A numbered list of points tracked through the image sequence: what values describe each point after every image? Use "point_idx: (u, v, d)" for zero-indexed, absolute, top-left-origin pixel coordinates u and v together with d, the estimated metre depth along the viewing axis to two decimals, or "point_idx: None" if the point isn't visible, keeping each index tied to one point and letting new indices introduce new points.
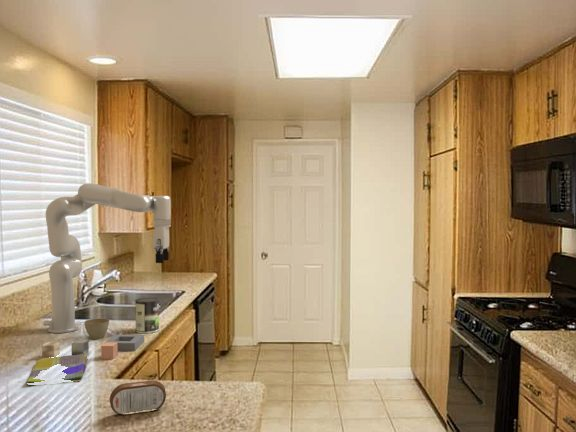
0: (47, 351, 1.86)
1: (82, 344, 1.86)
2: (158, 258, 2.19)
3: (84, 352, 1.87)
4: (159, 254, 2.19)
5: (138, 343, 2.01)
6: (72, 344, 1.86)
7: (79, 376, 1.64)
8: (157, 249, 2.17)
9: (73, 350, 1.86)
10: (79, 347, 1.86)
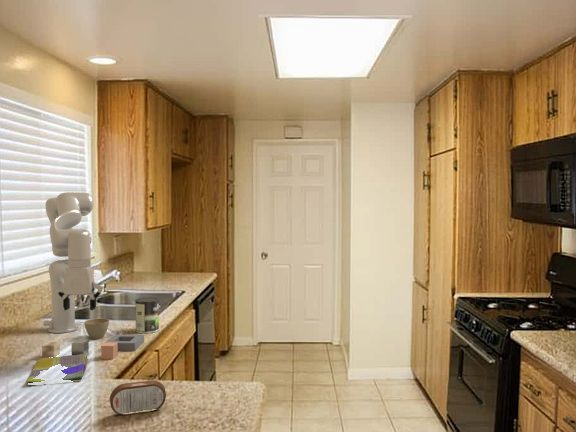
0: (47, 351, 1.86)
1: (82, 344, 1.86)
2: (95, 304, 1.87)
3: (84, 352, 1.87)
4: (95, 299, 1.88)
5: (138, 343, 2.01)
6: (72, 344, 1.86)
7: (79, 376, 1.64)
8: (100, 293, 1.87)
9: (73, 350, 1.86)
10: (79, 347, 1.86)
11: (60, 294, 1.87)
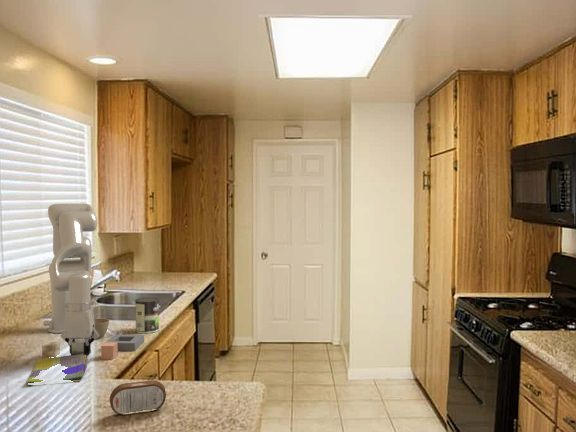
0: (47, 351, 1.86)
1: (82, 344, 1.86)
2: (89, 349, 1.88)
3: (84, 352, 1.87)
4: None
5: (138, 343, 2.01)
6: (72, 344, 1.86)
7: (79, 376, 1.64)
8: (94, 338, 1.88)
9: (73, 350, 1.86)
10: (79, 347, 1.86)
11: (67, 340, 1.87)
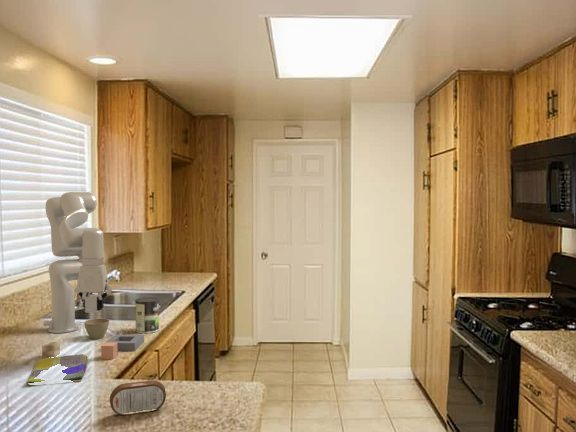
0: (47, 351, 1.86)
1: (95, 298, 1.89)
2: (102, 304, 1.91)
3: (97, 307, 1.90)
4: None
5: (138, 343, 2.01)
6: (85, 298, 1.89)
7: (80, 376, 1.64)
8: (107, 293, 1.91)
9: (87, 304, 1.89)
10: (92, 301, 1.89)
11: (80, 294, 1.91)
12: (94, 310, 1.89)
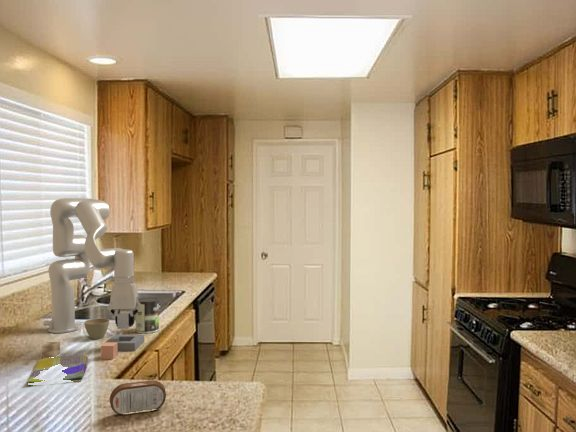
0: (47, 351, 1.86)
1: (127, 314, 1.99)
2: (133, 320, 2.01)
3: None
4: None
5: (138, 343, 2.01)
6: (118, 315, 1.99)
7: (80, 376, 1.64)
8: None
9: (119, 320, 1.99)
10: (124, 318, 1.99)
11: (112, 311, 2.01)
12: (126, 327, 1.99)
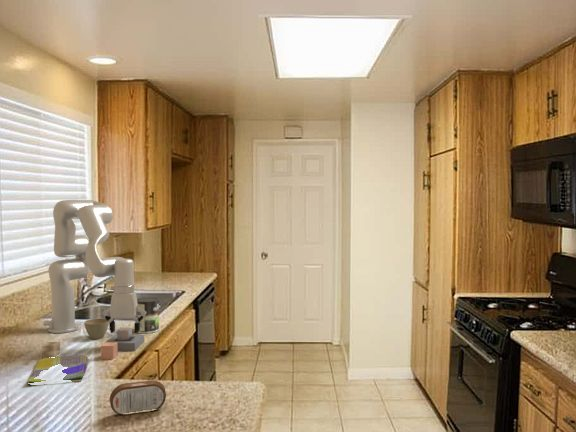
0: (47, 351, 1.86)
1: (127, 331, 2.00)
2: (138, 327, 2.02)
3: (129, 339, 2.01)
4: (139, 322, 2.02)
5: (138, 343, 2.01)
6: (118, 331, 2.00)
7: (80, 376, 1.64)
8: (143, 316, 2.01)
9: (119, 337, 2.00)
10: (124, 334, 2.00)
11: (106, 318, 2.01)
12: None
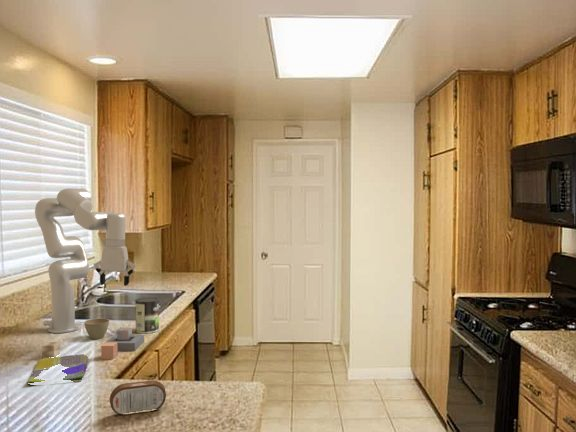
0: (47, 351, 1.86)
1: (127, 331, 2.00)
2: (128, 280, 2.07)
3: (129, 339, 2.01)
4: (129, 275, 2.07)
5: (138, 343, 2.01)
6: (118, 331, 2.00)
7: (80, 376, 1.64)
8: (133, 270, 2.06)
9: (119, 337, 2.00)
10: (124, 334, 2.00)
11: (97, 270, 2.06)
12: None
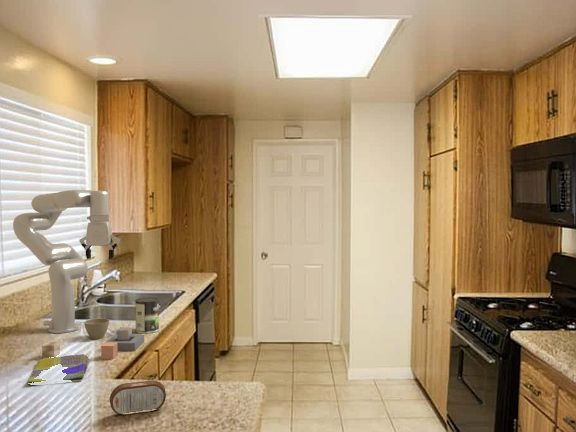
0: (47, 351, 1.86)
1: (127, 331, 2.00)
2: (113, 254, 2.17)
3: (129, 339, 2.01)
4: (113, 249, 2.17)
5: (138, 343, 2.01)
6: (118, 331, 2.00)
7: (80, 376, 1.64)
8: (117, 244, 2.17)
9: (119, 337, 2.00)
10: (124, 334, 2.00)
11: (83, 245, 2.16)
12: None
